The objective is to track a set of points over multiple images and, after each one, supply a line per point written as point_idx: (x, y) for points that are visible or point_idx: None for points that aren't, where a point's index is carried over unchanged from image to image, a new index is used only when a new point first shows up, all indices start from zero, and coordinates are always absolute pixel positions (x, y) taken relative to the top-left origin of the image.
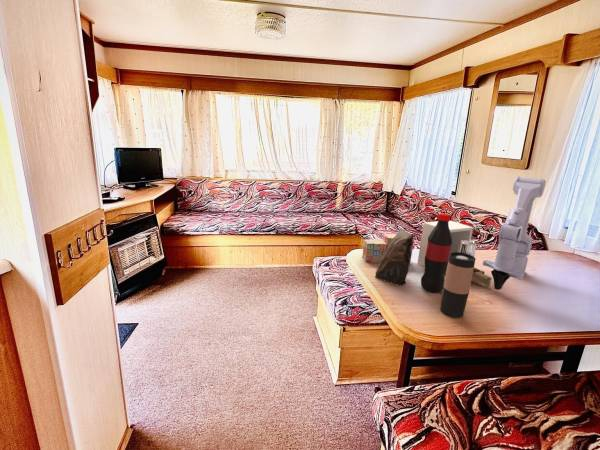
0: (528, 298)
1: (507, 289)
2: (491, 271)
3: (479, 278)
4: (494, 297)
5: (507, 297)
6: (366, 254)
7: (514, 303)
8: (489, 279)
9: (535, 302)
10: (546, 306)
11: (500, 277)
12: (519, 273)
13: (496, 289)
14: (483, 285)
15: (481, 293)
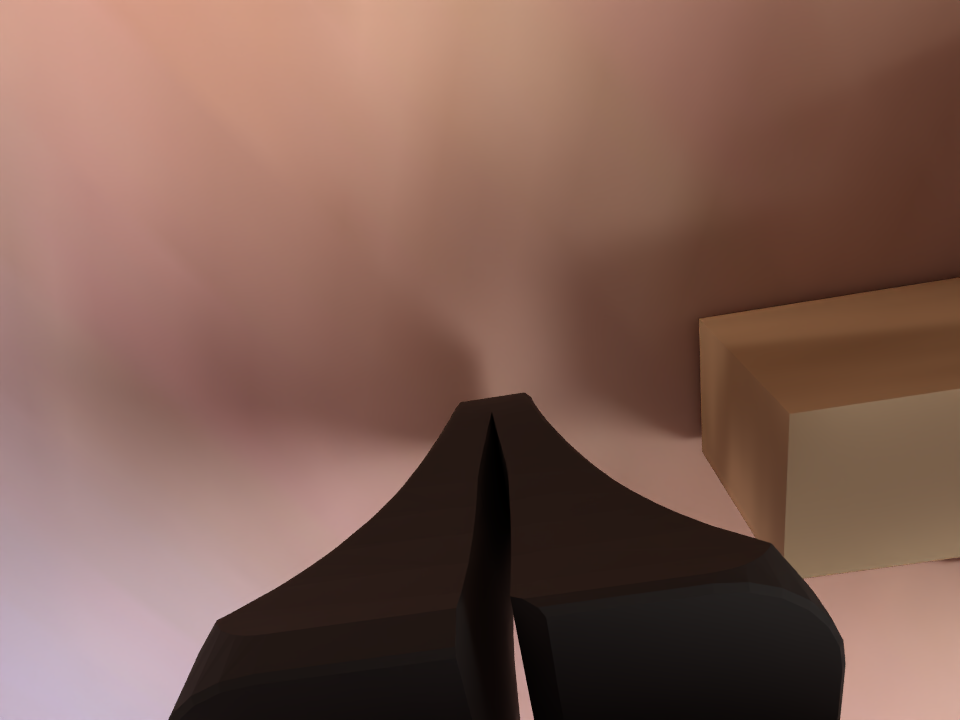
0: None
1: None
2: (787, 587)
3: (945, 348)
4: (297, 162)
5: (280, 420)
6: None
7: (54, 353)
8: (766, 499)
9: (112, 672)
10: (2, 706)
11: (339, 585)
12: None
13: (480, 399)
14: (743, 321)
15: (508, 5)
